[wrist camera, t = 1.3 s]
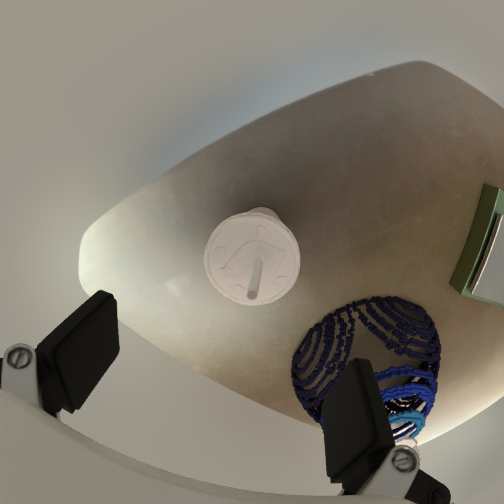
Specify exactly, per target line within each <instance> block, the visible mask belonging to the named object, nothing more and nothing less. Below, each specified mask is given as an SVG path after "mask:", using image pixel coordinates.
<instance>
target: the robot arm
mask: <svg viewBox="0 0 504 504" xmlns="http://www.w3.org/2000/svg"><path fill="white" fill-rule="evenodd" d="M119 350H120V346H119V335H118V318H117V301H116V299H114V296H113V294H111V293H108V292H105V291H103V290H99V291H97V292H96V293H95V294H94V295H93V296H91V297H90V298H89V299H88V300H87V301H86V302H84V304H82V305H81V306H80V307H79V308H78V309H76V310H75V311H74V312H73V313H72V314H71V315H70V316H69V317H68V318H66V319H65V320H64V321H63V322H62V323H61V324H60V325H59V326H57V327H56V328H55V329H54V330H53V331H52V332H51V333H50V334H49V335H48V336H47V337H46V338H45V339H44V340H43V341H42V342H41V343H39V344H38V345H37V348H36V349H35V350H34V349H33V348H32V347H31V346H29V345H27V344H21V343H20V344H15V345H12V346H11V347H9V348H8V349H7V350H6V352H5V353H4V357H3V358H0V504H450V500H451V495H450V491H449V489H448V488H447V487H446V486H445V485H444V484H442V483H440V482H439V481H437V480H436V479H434V478H433V477H431V476H429V475H428V474H426V473H425V472H423V471H422V470H420V469H419V466H420V458H419V455H418V454H417V452H416V451H415V450H414V449H413V448H412V447H410V446H407V445H397V446H396V444H395V440H394V436H393V432H392V429H391V425H390V422H389V418H388V415H387V412H386V408H385V405H384V402H383V399H382V396H381V393H380V390H379V386H378V383H377V380H376V377H375V375H374V372H373V369H372V366H371V363H370V361H369V360H368V359H361V358H354V359H353V361H349V362H348V364H347V365H346V367H345V369H344V370H343V372H342V374H341V375H340V377H339V378H338V380H337V382H336V383H335V385H334V386H333V388H332V390H331V391H330V393H329V394H328V396H327V397H326V399H325V400H324V402H323V404H322V420H323V431H324V442H325V455H326V471H327V476H328V477H330V479H331V483H342V488H343V489H342V490H341V491H340V493H339V494H338V495H337V496H301V495H284V494H273V493H263V492H255V491H248V490H242V489H236V488H231V487H225V486H220V485H216V484H211V483H207V482H202V481H198V480H195V479H191V478H188V477H184V476H181V475H177V474H174V473H171V472H168V471H165V470H162V469H159V468H156V467H153V466H151V465H148V464H145V463H143V462H140V461H138V460H135V459H133V458H130V457H128V456H126V455H123V454H121V453H119V452H117V451H114V450H112V449H110V448H108V447H106V446H104V445H102V444H100V443H98V442H96V441H94V440H92V439H90V438H88V437H87V436H85V435H83V434H81V433H79V432H78V431H76V430H74V429H72V428H71V427H69V426H67V425H66V424H64V423H62V422H61V421H60V416H59V412H60V411H61V409H62V408H63V409H64V410H66V411H68V412H69V413H71V414H73V412H74V411H75V409H77V410H79V409H80V408H81V406H82V405H83V404H84V402H85V401H86V399H87V398H88V396H89V395H90V393H91V392H92V391H93V389H94V388H95V386H96V385H97V384H98V382H99V381H100V379H101V378H102V376H103V375H104V373H105V372H106V371H107V369H108V368H109V367H110V365H111V364H112V363H113V361H114V360H115V359H116V357H117V356H118V354H119ZM452 504H454V503H452Z"/></svg>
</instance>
